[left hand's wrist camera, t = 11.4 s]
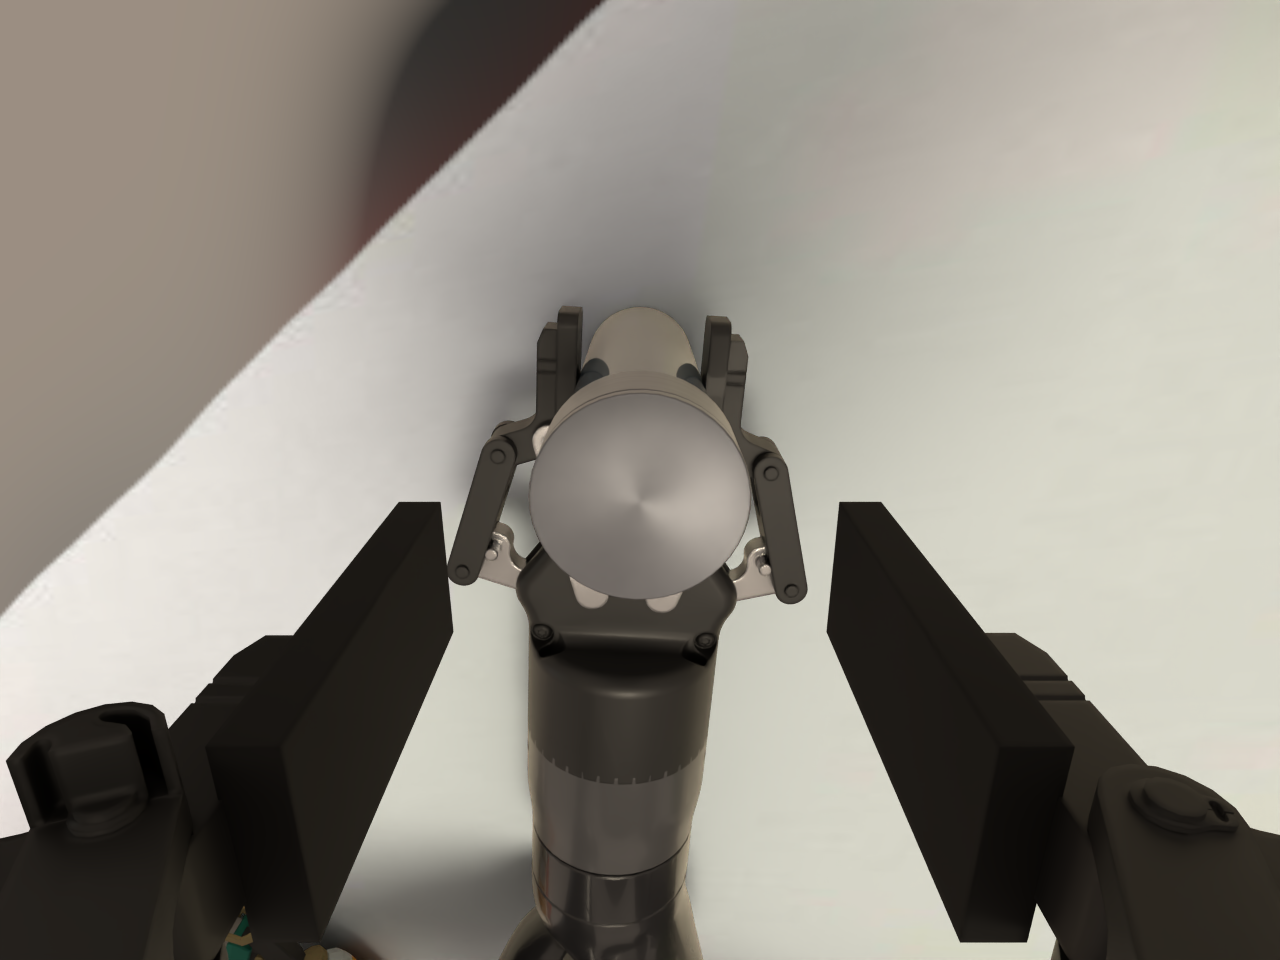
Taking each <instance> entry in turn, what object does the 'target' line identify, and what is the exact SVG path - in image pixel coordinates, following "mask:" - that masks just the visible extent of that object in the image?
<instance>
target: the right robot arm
mask: <svg viewBox="0 0 1280 960" xmlns="http://www.w3.org/2000/svg"><path fill="white" fill-rule="evenodd" d="M582 319H583V309H582V307H572V306H562V307H561V309H560V310H559V312H558V320H557V323H554V322H548V323H547V324H546V326H545V327H544V328H543V330H542V333H541V335H540V338H539V340H538V342H537V389H536V413H535V414H534V415H533V416H531V417H530V418H527V419H524V420H520V421H517V422H514V421H503V422H501V423H499V424H498V425H497V426H496V428H495V429H494V431H493V433H492V436H491V438H490V439H489V440H488V441H487V442H486V444H485V445H484V447H483V449H482V451H481V455H480V458H479V461H478V465H477V468H476V471H475V475H474V478H473V481H472V485H471V488H470V491H469V494H468V498H467V501H466V504H465V508H464V511H463V514H462V518H461V521H460V524H459V528H458V531H457V534H456V538H455V541H454V544H453V548H452V551H451V554H450V558H449V561H448V564H447V572H448V577H449V579H450V580H451V581H452V582H454V583H456V584H458V585H462V586H466V585H470V584H472V583H474V582H475V581H476V580H477V578H478V577H479V578H482V579H485V580H489V581H492V582H495V583H498V584H501V585H505V586H508V587H511V588H514V589H516V593H517V597H518V599H519V601H520V603H521V604H522V606H523V607H524V609H525V611H526V613H527V616H528V620H529V682H528V783H529V790H530V796H531V801H532V809H533V831H532V887H533V894H534V899H535V904H536V906H535V907H534V908H533V909H532V910H531V911H530V912H529V913H528V914H527V915H526V916H525V917H524V918H523V919H522V921H521V922H520V923H519V925H518V926H517V928H516V929H515V931H514V933H513V934H512V936H511V937H510V939H509V941H508V943H507V945H506V946H505V948H504V950H503V952H502V954H501V956H500V958H499V960H703V957H702V953H701V948H700V944H699V940H698V935H697V931H696V927H695V923H694V918H693V913H692V908H691V903H690V899H689V896H688V892H687V889H686V885H685V877H686V870H687V861H688V852H689V843H690V834H691V824H692V818H693V814H694V811H695V807H696V804H697V801H698V797H699V793H700V790H701V784H702V778H703V770H704V761H705V753H706V744H707V736H708V726H709V717H710V709H711V700H712V691H713V683H714V674H715V665H716V656H717V648H718V639H719V633H720V630H721V628H722V625H723V624H724V622H725V620H726V619H727V618H728V617H729V615H730V614H731V613H732V611H733V610H734V608H735V605H736V601H740V600H745V599H750V598H755V597H760V596H765V595H770V594H776V596H777V598H778V599H779V600H780V601H781V602H783V603H785V604H795V603H798V602H800V601H801V600H803V599H804V597H805V596H806V594H807V590H808V589H807V582H806V576H805V570H804V564H803V558H802V551H801V545H800V539H799V533H798V527H797V521H796V515H795V509H794V503H793V497H792V491H791V485H790V479H789V473H788V468H787V465H786V463H785V462H784V460H783V458H782V456H781V454H780V452H779V451H778V449H777V447H776V445H775V443H774V442H773V441H772V440H771V439H769V438H767V437H758V436H755V435H753V434H751V433H748V432H746V431H745V430H743V429H742V428H741V416H742V407H743V398H744V389H745V381H746V372H747V363H748V354H747V351H746V347H745V343H744V341H743V340H742V338H741V337H740V335H738V334H731V322H730V321H729V319H728V318H727V317H722V316H707V318H706V324H705V334H704V344H703V355H702V366H701V379H702V382H703V385H704V388H705V391H706V394H707V396H708V397H710V398H711V399H712V400H713V401H714V402H715V403H716V405H717V406H718V407H719V408H720V410H721V411H722V412H723V413H724V415H725V417H726V419H727V420H728V422H729V424H730V426H731V428H732V431H733V433H734V436H735V438H736V441H737V443H738V446H739V448H740V451H741V453H742V456H743V458H744V461H745V463H746V466H747V470H748V474H749V477H750V483H751V488H752V494H753V499H754V505H755V510H756V516H757V521H758V526H759V532H760V537H757V538H754V539H752V540H750V541H749V542H748V543H747V544H746V546H745V548H744V558H743V561H742V563H741V564H740V565H739V566H738V567H736V568H735V569H732V570H730V569H729V567H728V566H727V564H726V563H724V564H723V566H722V567H720V568H719V569H718V570H717V571H716V572H715V573H714V574H713V575H711V576H710V577H709V578H707V579H706V580H704V581H703V582H701V583H700V584H698V585H696V586H694V587H692V588H690V589H688V590H685V591H683V592H680V593H678V594H675V595H671V596H667V597H663V598H655V599H641V600H634V599H624V598H618V597H613V596H609V595H606V594H603V593H600V592H597V591H594V590H592V589H590V588H588V587H586V586H584V585H582V584H580V583H579V582H577V581H576V580H574V579H573V578H571V577H570V576H569V575H568V574H566V573H565V572H564V571H563V570H562V569H560V568H559V566H558V565H557V564H556V563H555V562H554V561H553V560H552V559H551V558H550V556H549V555H548V553H547V552H546V551H545V549H544V548H543V546H542V544H541V542H539V543H538V544H537V546H536V547H535V548H534V549H533V550H532V551H531V553H530V554H529V555H528V556H527V557H526V558H523V557H521V556H520V555H518V553H517V552H516V551H515V549H514V544H513V543H514V533H513V531H512V529H511V528H510V527H509V526H508V525H506V524H504V523H501V522H499V520H500V516H501V513H502V510H503V507H504V504H505V501H506V498H507V495H508V491H509V488H510V485H511V482H512V479H513V476H514V473H515V470H516V466H517V465H519V464H522V463H526V462H529V461H533V460H536V458H537V455H538V453H539V450H540V448H541V445H542V443H543V440H544V438H545V435H546V433H547V430H548V428H549V426H550V424H551V422H552V420H553V418H554V416H555V415H556V414H557V412H558V411H559V409H560V408H561V407H562V406H563V405H564V403H565V402H566V401H567V400H568V399H569V398H570V397H571V396H572V395H573V394H574V391H575V388H576V385H577V382H578V379H579V376H580V373H581V348H582Z"/></svg>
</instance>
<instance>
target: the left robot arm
mask: <svg viewBox="0 0 1280 960" xmlns="http://www.w3.org/2000/svg"><path fill="white" fill-rule="evenodd" d="M452 634H453V623H452V613H451V603H450V592H449V582H448V572H447V562H446V552H445V542H444V532H443V522H442V512H441V502H398V504H397V505H396V506H395V508H394V509H393V510H392V511H391V513H390V514H389V515H388V516H387V518H386V519H385V520H384V521H383V523H382V524H381V525H380V526H379V528H378V529H377V530H376V532H375V533H374V534H373V535H372V537H371V538H370V539H369V540H368V542H367V543H366V544H365V545H364V547H363V548H362V549H361V550H360V552H359V553H358V554H357V555H356V557H355V558H354V559H353V561H352V562H351V563H350V564H349V566H348V567H347V568H346V569H345V571H344V572H343V573H342V574H341V576H340V577H339V578H338V579H337V581H336V582H335V583H334V585H333V586H332V587H331V588H330V590H329V591H328V592H327V593H326V595H325V596H324V597H323V598H322V600H321V601H320V602H319V603H318V605H317V606H316V607H315V609H314V610H313V611H312V612H311V614H310V615H309V616H308V617H307V619H306V620H305V621H304V622H303V624H302V625H301V626H300V627H299V629H298V630H297V631H296V632H295V634H294V635H265V636H264V637H262V638H261V639H259V640H258V641H256V642H254V643H253V644H251V645H250V646H248V647H246V648H245V649H243V650H242V651H240V652H238V653H237V654H235V655H234V656H233V657H232V658H231V659H230V660H229V661H228V662H227V664H226V665H225V666H224V667H223V668H222V669H221V670H220V671H219V673H218V674H217V675H216V676H215V677H214V678H213V683H209V684H208V685H207V686H206V687H205V688H204V689H203V691H202V692H201V693H200V694H199V695H198V696H197V697H196V702H195V703H191V704H190V705H189V706H188V708H187V709H186V710H185V711H184V712H183V713H182V714H181V715H180V717H179V718H178V719H177V720H176V721H175V722H174V723H173V724H172V726H171V727H170V728H169V729H168V726H167V723H166V719H165V715H164V713H162V712H161V711H160V710H158V709H157V708H156V707H154V706H153V705H149V704H143V703H137V702H124V703H114V704H105V705H101V706H97V707H94V708H90V709H87V710H83V711H80V712H76V713H74V714H71V715H69V716H67V717H65V718H63V719H60V720H58V721H56V722H54V723H52V724H49V725H47V726H45V727H44V728H42V729H41V730H40V731H38V732H37V733H35V734H34V735H32V736H31V737H29V738H28V739H26V740H25V741H23V742H22V743H21V744H20V745H19V746H18V747H17V749H16V750H15V751H14V752H13V753H12V754H11V755H10V757H9V758H8V759H7V760H6V763H7V766H8V768H9V771H10V774H11V777H12V779H13V782H14V785H15V788H16V791H17V793H18V796H19V799H20V802H21V804H22V807H23V810H24V813H25V815H26V818H27V821H28V824H29V826H30V830H29V832H26V833H22V834H18V835H14V836H9V837H5V838H0V960H229V959H228V953H227V949H226V946H225V942H224V941H225V939H226V937H227V935H228V933H229V932H230V930H231V928H232V926H233V925H234V923H235V921H236V919H237V917H238V916H239V914H240V912H241V910H242V908H243V907H244V908H245V912H246V916H247V920H248V924H249V928H250V932H251V936H252V940H253V942H320V941H321V939H322V936H323V934H324V932H325V929H326V927H327V925H328V922H329V920H330V918H331V915H332V913H333V911H334V908H335V906H336V904H337V901H338V899H339V897H340V894H341V892H342V890H343V888H344V885H345V883H346V881H347V878H348V876H349V874H350V871H351V869H352V867H353V864H354V862H355V860H356V857H357V855H358V853H359V850H360V848H361V846H362V843H363V841H364V839H365V836H366V834H367V832H368V829H369V827H370V825H371V822H372V820H373V818H374V815H375V813H376V811H377V808H378V806H379V804H380V801H381V799H382V797H383V794H384V792H385V790H386V787H387V785H388V783H389V780H390V778H391V776H392V774H393V771H394V769H395V767H396V764H397V762H398V760H399V757H400V755H401V753H402V750H403V748H404V746H405V743H406V741H407V739H408V736H409V734H410V732H411V729H412V727H413V725H414V722H415V720H416V718H417V715H418V713H419V711H420V708H421V706H422V704H423V701H424V699H425V697H426V694H427V692H428V690H429V687H430V685H431V683H432V680H433V678H434V676H435V673H436V671H437V669H438V666H439V664H440V662H441V660H442V657H443V655H444V653H445V650H446V648H447V646H448V643H449V641H450V639H451V636H452ZM827 634H828V636H829V639H830V641H831V643H832V646H833V648H834V650H835V653H836V655H837V657H838V660H839V662H840V664H841V666H842V669H843V671H844V673H845V676H846V678H847V680H848V683H849V685H850V687H851V690H852V692H853V694H854V697H855V699H856V701H857V704H858V706H859V708H860V711H861V713H862V715H863V718H864V720H865V722H866V725H867V727H868V729H869V732H870V734H871V736H872V739H873V741H874V743H875V746H876V748H877V750H878V753H879V755H880V757H881V760H882V762H883V764H884V767H885V769H886V771H887V774H888V776H889V778H890V780H891V783H892V785H893V787H894V790H895V792H896V794H897V797H898V799H899V801H900V804H901V806H902V808H903V811H904V813H905V815H906V818H907V820H908V822H909V825H910V827H911V829H912V832H913V834H914V836H915V839H916V841H917V843H918V846H919V848H920V850H921V853H922V855H923V857H924V860H925V862H926V864H927V867H928V869H929V871H930V874H931V876H932V878H933V881H934V883H935V885H936V888H937V890H938V892H939V894H940V897H941V899H942V901H943V904H944V906H945V908H946V911H947V913H948V915H949V918H950V920H951V922H952V925H953V927H954V929H955V932H956V934H957V936H958V939H959V941H960V942H1027V940H1028V936H1029V932H1030V928H1031V924H1032V920H1033V916H1034V912H1035V907H1036V903H1037V905H1038V906H1039V908H1040V910H1041V912H1042V913H1043V915H1044V917H1045V919H1046V921H1047V922H1048V924H1049V926H1050V928H1051V929H1052V931H1053V933H1054V935H1055V937H1056V942H1055V946H1054V949H1053V953H1052V957H1051V960H1280V835H1277V834H1273V833H1268V832H1264V831H1259V830H1256V829H1252V828H1250V827H1249V826H1248V824H1247V823H1246V821H1245V820H1244V819H1243V817H1242V816H1241V815H1240V813H1239V812H1238V811H1237V809H1236V808H1235V807H1234V806H1232V805H1231V804H1230V803H1228V802H1227V801H1226V800H1225V799H1223V798H1222V797H1221V796H1220V795H1218V794H1217V793H1216V792H1215V791H1213V790H1212V789H1210V788H1208V787H1206V786H1204V785H1202V784H1200V783H1198V782H1196V781H1194V780H1192V779H1190V778H1189V777H1187V776H1185V775H1181V774H1178V773H1175V772H1172V771H1169V770H1166V769H1163V768H1159V767H1156V766H1147V764H1146V763H1145V762H1144V761H1143V760H1142V759H1141V758H1140V757H1139V755H1138V754H1137V753H1136V752H1135V751H1134V750H1133V749H1132V748H1131V747H1130V745H1129V744H1128V743H1127V742H1126V741H1125V740H1124V739H1123V738H1122V736H1121V735H1120V734H1119V733H1118V732H1117V731H1116V730H1115V729H1114V728H1113V726H1112V725H1111V724H1110V723H1109V722H1108V721H1107V720H1106V719H1105V717H1104V716H1103V715H1102V714H1101V713H1100V712H1099V711H1098V710H1097V708H1096V707H1095V706H1094V705H1093V704H1092V703H1091V702H1090V701H1086V700H1085V695H1084V694H1083V693H1082V692H1081V691H1080V689H1079V688H1078V687H1077V686H1076V685H1075V684H1074V683H1073V682H1072V681H1068V676H1067V675H1066V674H1065V673H1064V672H1063V670H1062V669H1061V668H1060V667H1059V666H1058V665H1057V664H1056V663H1055V661H1054V660H1053V659H1052V658H1051V657H1050V656H1049V655H1048V654H1047V653H1046V652H1045V651H1043V650H1041V649H1040V648H1038V647H1037V646H1035V645H1033V644H1032V643H1030V642H1029V641H1027V640H1025V639H1024V638H1022V637H1021V636H1019V635H1017V634H1016V633H985V632H984V631H983V630H982V629H981V627H980V626H979V625H978V624H977V622H976V621H975V620H974V619H973V617H972V616H971V615H970V614H969V612H968V611H967V610H966V609H965V607H964V606H963V605H962V603H961V602H960V601H959V600H958V598H957V597H956V596H955V595H954V593H953V592H952V591H951V590H950V588H949V587H948V586H947V585H946V583H945V582H944V581H943V579H942V578H941V577H940V576H939V574H938V573H937V572H936V571H935V569H934V568H933V567H932V566H931V564H930V563H929V562H928V561H927V559H926V558H925V557H924V555H923V554H922V553H921V552H920V550H919V549H918V548H917V547H916V545H915V544H914V543H913V542H912V540H911V539H910V538H909V537H908V535H907V534H906V533H905V532H904V530H903V529H902V528H901V526H900V525H899V524H898V523H897V521H896V520H895V519H894V518H893V516H892V515H891V514H890V513H889V511H888V510H887V509H886V508H885V506H884V505H883V504H882V502H839V512H838V522H837V532H836V542H835V552H834V562H833V572H832V582H831V592H830V603H829V613H828V623H827Z"/></svg>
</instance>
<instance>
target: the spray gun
mask: <svg viewBox="0 0 1280 960" xmlns="http://www.w3.org/2000/svg"><path fill="white" fill-rule="evenodd" d="M242 913H245V914H246V912H245V908H244V907H243V908H242V910H241V912H240V914H239V916H238V917H237V919H236V921H235V923H234V925H233V926H232V928H231V930H230V932H229V933H228V935H227V937H226V939H225V941H224V942H225V946H226V949H227V953H228V959H229V960H357V959H355V958H354V957H353V956H352V955H351V954H349V953H348V952H347V951H344V950H342V949H340V948H331V949H327V950H326V949H324V948H323V947H322V946H321V945H315V946H311V947H310V948H308V949H306V950H305V951H304V950H303V949H302V947H301V946H300V945H299V944H298V943H297V942H253V940H252V936H251V932H250V928H249V924H248V920H247V916H246V915H245V916H244V917H243V918H241V914H242Z"/></svg>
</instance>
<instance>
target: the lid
mask: <svg viewBox="0 0 1280 960" xmlns="http://www.w3.org/2000/svg"><path fill="white" fill-rule="evenodd" d="M750 508H751V485H750V477H749V474H748V470H747V466H746V463H745V461H744V458H743V456H742V453H741V451H740V448H739V446H738V443H737V441H736V438H735V436H734V433H733V431H732V428H731V426H730V424H729V422H728V420H727V419H726V417H725V415H724V413H723V412H722V411H721V410H720V408H719V407H718V406H717V405H716V403H715V402H714V401H713V400H712V399H711V398H710V397H708V396H707V395H706V394H705V393H704V392H702V391H701V390H700V389H698V388H697V387H696V386H694V385H692V384H690V383H688V382H687V381H685V380H682V379H680V378H677V377H675V376H672V375H669V374H664V373H660V372H654V371H645V370H644V371H626V372H619V373H615V374H612V375H608V376H605V377H602V378H600V379H598V380H595V381H593V382H591V383H590V384H588V385H586V386H585V387H583V388H581V389H580V390H579V391H577V392H576V393H575V394H574V395H572V396H571V397H570V398H569V399H568V400H567V401H566V402H565V403H564V405H563V406H562V407H561V408H560V409H559V411H558V412H557V414H556V415H555V416H554V418H553V420H552V422H551V424H550V426H549V428H548V430H547V433H546V435H545V438H544V440H543V443H542V445H541V448H540V450H539V453H538V455H537V458H536V461H535V463H534V466H533V469H532V473H531V478H530V483H529V509H530V514H531V519H532V523H533V526H534V529H535V531H536V534H537V537H538V538H539V540H540V542H541V544H542V546H543V548H544V549H545V551H546V552H547V553H548V555H549V556H550V558H551V559H552V560H553V561H554V562H555V563H556V564H557V565H558V566H559V568H560V569H562V570H563V571H564V572H565V573H566V574H568V575H569V576H570V577H571V578H573V579H574V580H576V581H577V582H579V583H580V584H582V585H584V586H586V587H588V588H590V589H592V590H594V591H597V592H600V593H603V594H606V595H609V596H613V597H618V598H624V599H634V600H641V599H655V598H663V597H667V596H671V595H675V594H678V593H680V592H683V591H685V590H688V589H690V588H692V587H694V586H696V585H698V584H700V583H701V582H703V581H704V580H706V579H707V578H709V577H710V576H711V575H713V574H714V573H715V572H716V571H717V570H718V569H719V568H720V567H722V566H723V564H724V563H725V562H726V561H727V560H728V559H729V557H730V556H731V555H732V553H733V552H734V550H735V549H736V547H737V546H738V544H739V542H740V540H741V538H742V536H743V534H744V532H745V529H746V526H747V523H748V519H749V514H750Z"/></svg>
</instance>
